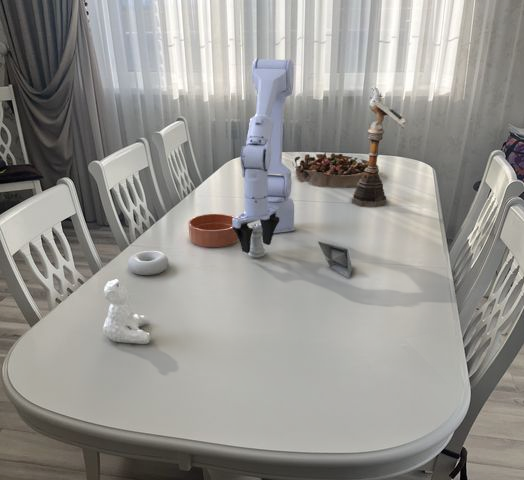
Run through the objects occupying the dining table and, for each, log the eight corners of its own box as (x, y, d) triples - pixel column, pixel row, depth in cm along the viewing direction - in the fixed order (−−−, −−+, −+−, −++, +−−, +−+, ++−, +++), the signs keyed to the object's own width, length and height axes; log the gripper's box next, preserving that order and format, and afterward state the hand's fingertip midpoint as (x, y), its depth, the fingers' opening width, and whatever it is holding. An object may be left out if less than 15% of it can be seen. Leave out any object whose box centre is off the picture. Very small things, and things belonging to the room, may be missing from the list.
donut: (157, 280, 131) (176, 263, 139) (155, 267, 129) (175, 251, 137) (120, 274, 133) (141, 258, 141) (118, 261, 132) (139, 246, 139)
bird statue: (400, 196, 187) (415, 83, 168) (402, 208, 176) (419, 88, 157) (351, 194, 189) (361, 82, 170) (350, 205, 178) (360, 87, 159)
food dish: (295, 164, 228) (296, 145, 224) (375, 168, 224) (378, 148, 220) (286, 185, 198) (287, 162, 194) (379, 189, 194) (382, 167, 190)
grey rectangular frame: (368, 265, 135) (353, 268, 127) (351, 283, 138) (335, 287, 130) (336, 230, 137) (320, 232, 130) (320, 249, 141) (303, 251, 133)
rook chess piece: (247, 252, 145) (247, 223, 141) (264, 251, 145) (264, 222, 141) (248, 258, 141) (248, 229, 137) (265, 258, 142) (265, 228, 137)
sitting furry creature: (151, 344, 106) (144, 288, 99) (105, 351, 104) (95, 294, 97) (146, 321, 113) (138, 268, 107) (103, 327, 111) (93, 273, 105)
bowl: (231, 228, 161) (230, 211, 158) (246, 244, 150) (246, 227, 147) (184, 233, 157) (183, 216, 154) (196, 251, 146) (195, 233, 143)
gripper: (246, 205, 128) (246, 259, 135) (287, 192, 137) (286, 244, 144) (225, 199, 132) (227, 252, 140) (267, 187, 141) (267, 237, 148)
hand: (256, 247), depth 142 cm, fingers open, 7 cm apart
